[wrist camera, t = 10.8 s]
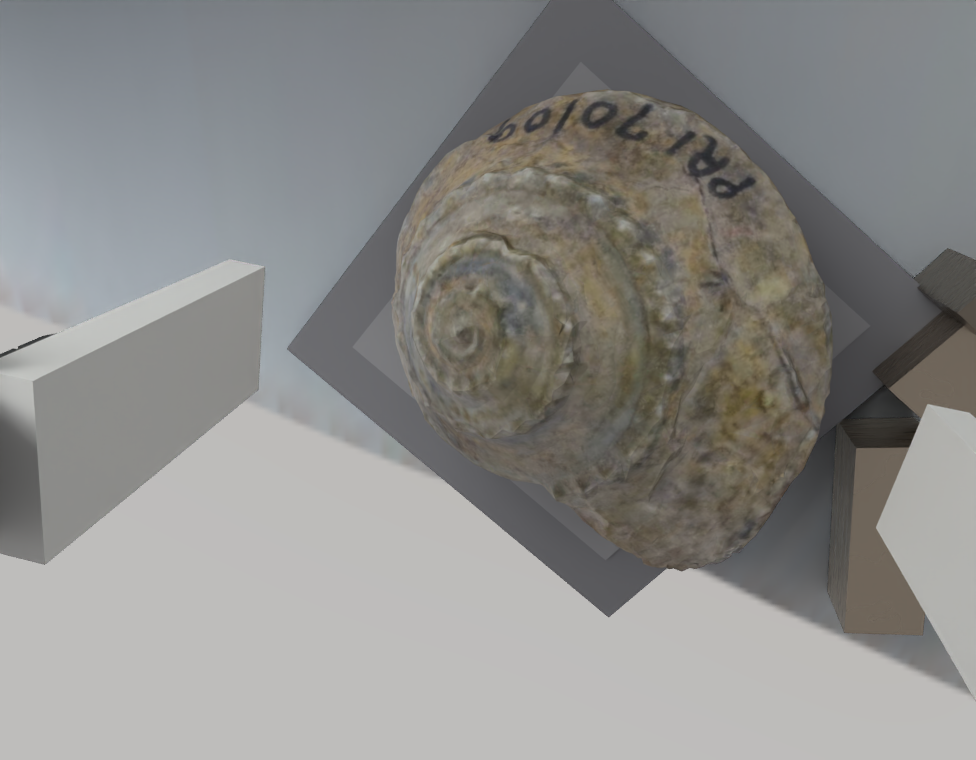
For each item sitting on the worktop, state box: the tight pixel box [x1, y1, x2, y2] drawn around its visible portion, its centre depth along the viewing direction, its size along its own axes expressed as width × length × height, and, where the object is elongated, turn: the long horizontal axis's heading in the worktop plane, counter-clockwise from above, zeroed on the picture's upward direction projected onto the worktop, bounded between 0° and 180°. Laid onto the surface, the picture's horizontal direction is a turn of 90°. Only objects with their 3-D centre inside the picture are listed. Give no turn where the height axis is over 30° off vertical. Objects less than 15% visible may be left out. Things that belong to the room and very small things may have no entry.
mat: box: [287, 0, 942, 617], centre depth 21 cm, size 13×13×1 cm
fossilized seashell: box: [391, 89, 833, 571], centre depth 19 cm, size 11×10×7 cm
